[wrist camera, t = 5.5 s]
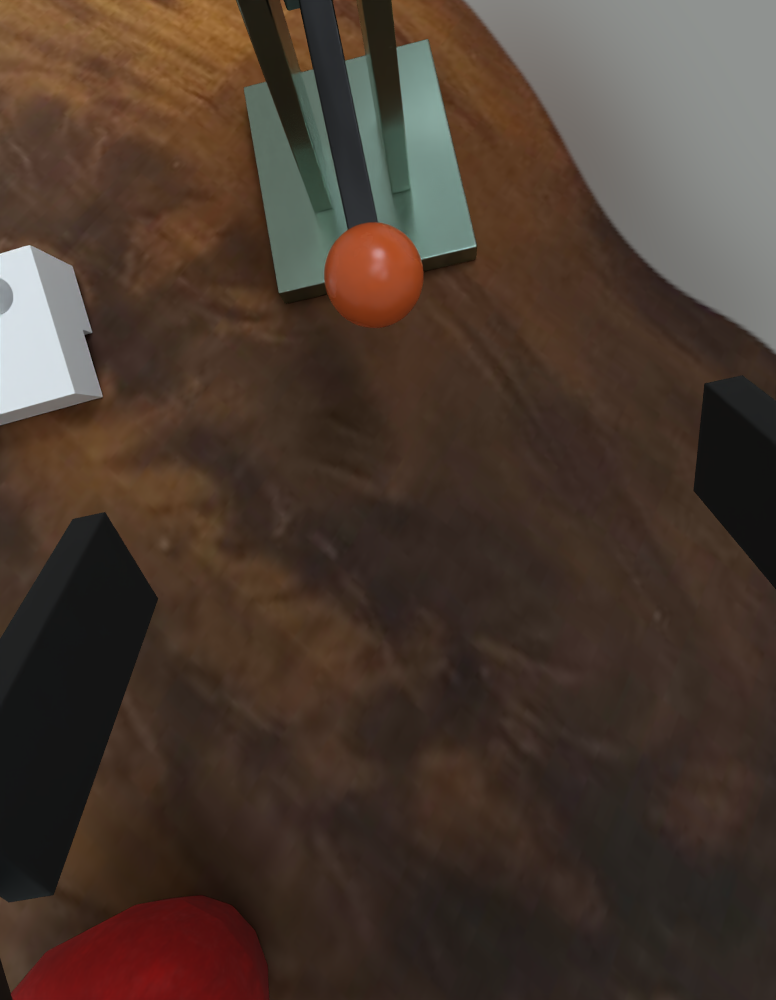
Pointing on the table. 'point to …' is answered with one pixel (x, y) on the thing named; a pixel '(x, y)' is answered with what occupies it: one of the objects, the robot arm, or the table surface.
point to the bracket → (42, 337)
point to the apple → (156, 957)
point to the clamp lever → (356, 195)
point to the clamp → (385, 139)
